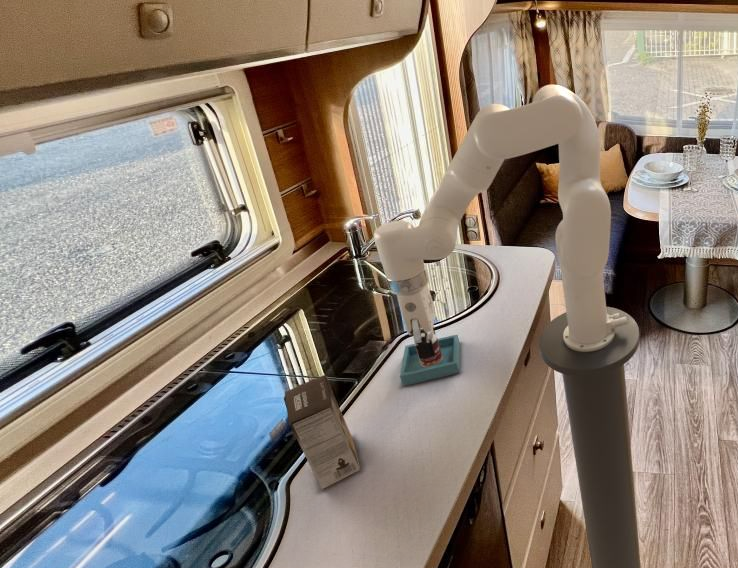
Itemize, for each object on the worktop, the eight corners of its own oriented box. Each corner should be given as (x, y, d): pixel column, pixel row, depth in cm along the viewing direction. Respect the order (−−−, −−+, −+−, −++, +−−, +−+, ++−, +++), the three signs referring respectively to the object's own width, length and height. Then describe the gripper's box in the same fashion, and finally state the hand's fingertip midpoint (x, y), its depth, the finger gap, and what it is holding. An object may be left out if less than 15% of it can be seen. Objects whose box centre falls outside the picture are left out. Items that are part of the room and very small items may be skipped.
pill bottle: (427, 371, 110) (418, 341, 106) (417, 362, 113) (407, 332, 109) (447, 359, 113) (438, 330, 109) (436, 351, 116) (427, 322, 112)
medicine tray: (459, 343, 119) (457, 334, 118) (459, 372, 110) (456, 363, 109) (408, 355, 116) (405, 345, 115) (403, 386, 107) (399, 376, 106)
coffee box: (314, 455, 92) (283, 390, 85) (352, 437, 95) (325, 373, 88) (321, 491, 85) (287, 423, 78) (362, 470, 88) (333, 403, 81)
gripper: (424, 297, 97) (444, 369, 105) (429, 257, 112) (447, 323, 119) (382, 305, 95) (406, 378, 103) (393, 263, 110) (414, 330, 118)
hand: (428, 347), depth 111 cm, fingers closed on pill bottle, 4 cm apart
